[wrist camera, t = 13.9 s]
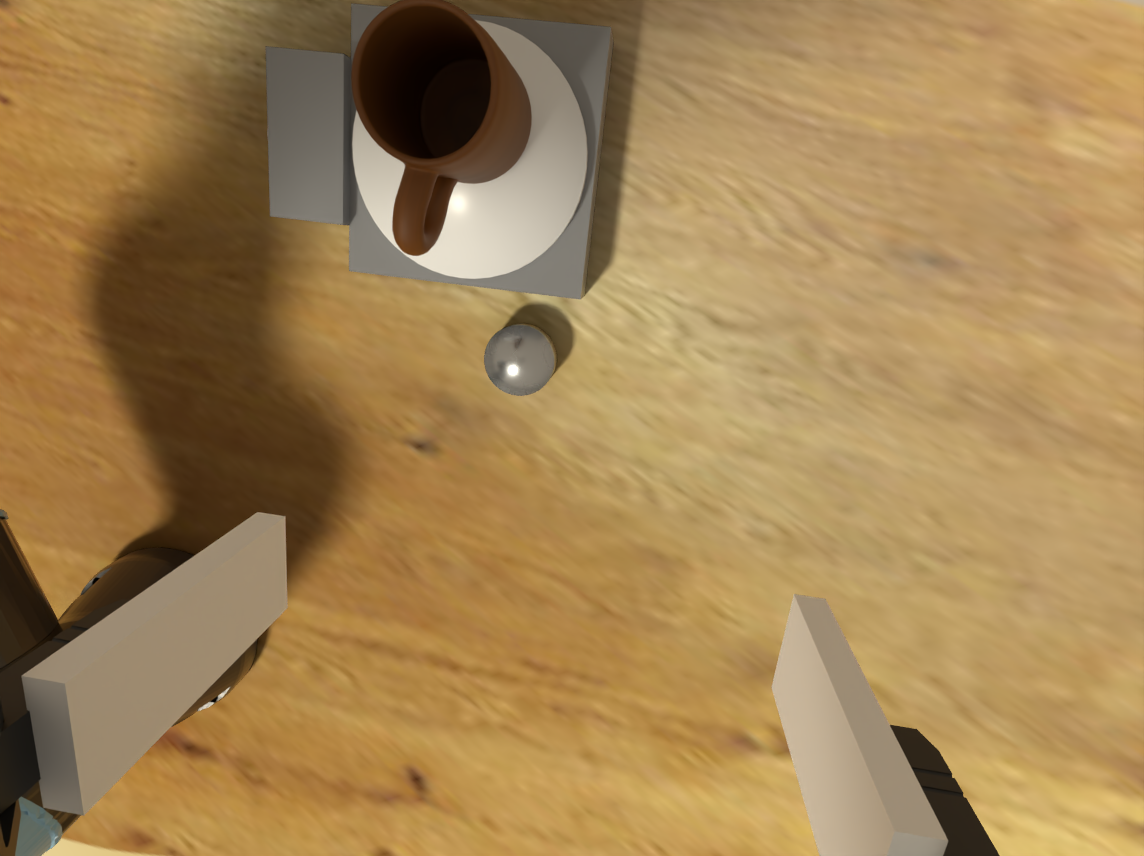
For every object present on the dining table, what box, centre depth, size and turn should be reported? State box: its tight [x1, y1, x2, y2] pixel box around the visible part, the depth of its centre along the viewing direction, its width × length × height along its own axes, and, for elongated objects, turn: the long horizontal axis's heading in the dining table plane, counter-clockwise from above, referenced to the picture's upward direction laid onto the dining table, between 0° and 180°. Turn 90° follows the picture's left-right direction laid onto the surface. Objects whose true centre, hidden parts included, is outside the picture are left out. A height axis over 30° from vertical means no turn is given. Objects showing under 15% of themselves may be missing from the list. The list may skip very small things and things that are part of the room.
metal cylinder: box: [484, 324, 557, 396], centre depth 46 cm, size 5×5×2 cm
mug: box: [351, 0, 532, 256], centre depth 35 cm, size 12×8×9 cm, turn 166°
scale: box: [266, 3, 614, 299], centre depth 42 cm, size 21×16×4 cm
